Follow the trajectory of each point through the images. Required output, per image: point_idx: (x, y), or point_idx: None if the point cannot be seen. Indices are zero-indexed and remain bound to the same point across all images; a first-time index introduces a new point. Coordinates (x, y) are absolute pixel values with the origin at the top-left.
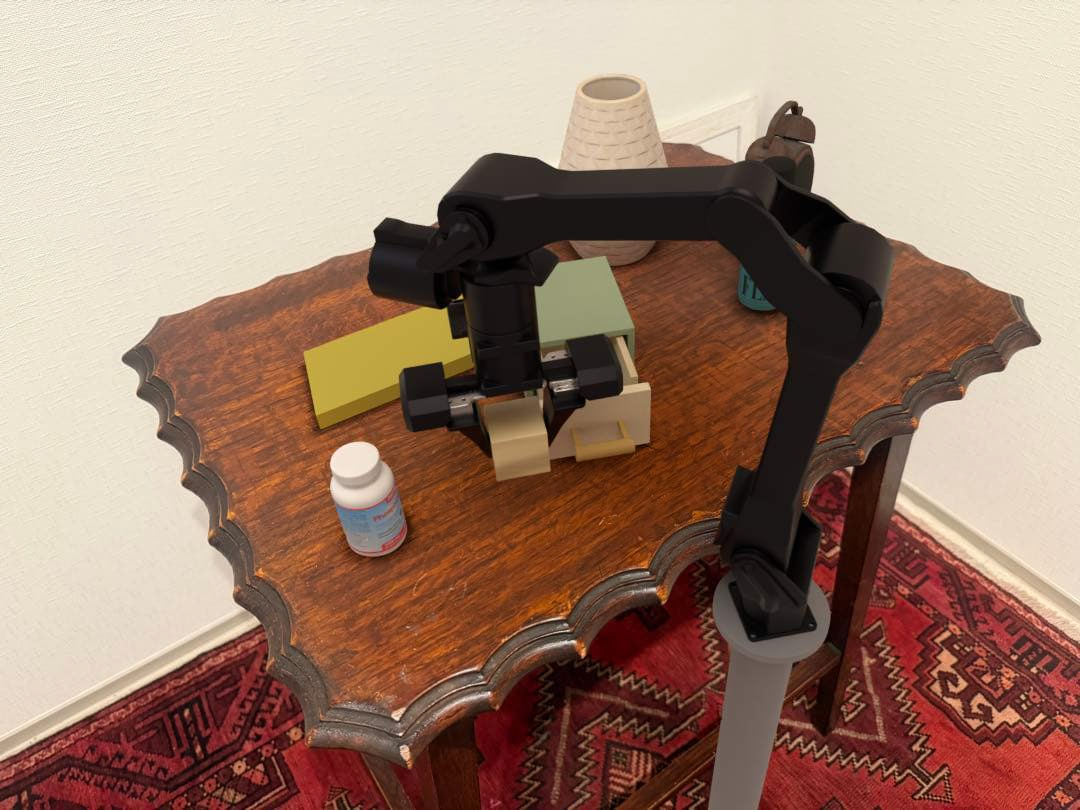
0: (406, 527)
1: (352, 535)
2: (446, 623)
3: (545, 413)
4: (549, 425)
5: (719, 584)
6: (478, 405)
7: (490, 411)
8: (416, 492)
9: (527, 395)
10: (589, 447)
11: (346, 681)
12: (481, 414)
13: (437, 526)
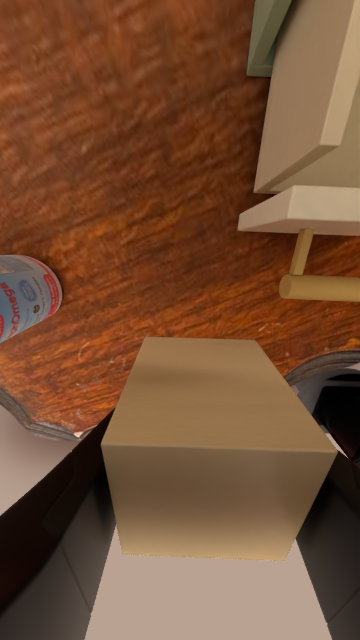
0: (59, 295)
1: None
2: (108, 388)
3: (319, 520)
4: (305, 561)
5: (318, 384)
6: (54, 564)
7: (128, 477)
8: (67, 230)
9: (260, 42)
10: (312, 292)
11: (38, 410)
12: (88, 502)
13: (96, 291)
